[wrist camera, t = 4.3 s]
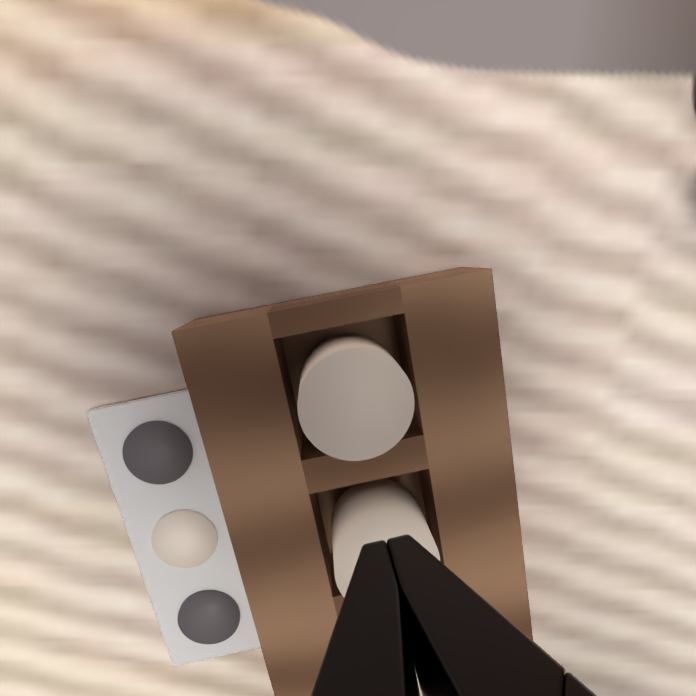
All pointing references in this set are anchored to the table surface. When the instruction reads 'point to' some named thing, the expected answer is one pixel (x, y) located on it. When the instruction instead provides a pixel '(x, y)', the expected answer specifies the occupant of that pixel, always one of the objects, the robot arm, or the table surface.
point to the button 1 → (353, 398)
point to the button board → (339, 475)
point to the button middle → (374, 523)
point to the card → (175, 525)
